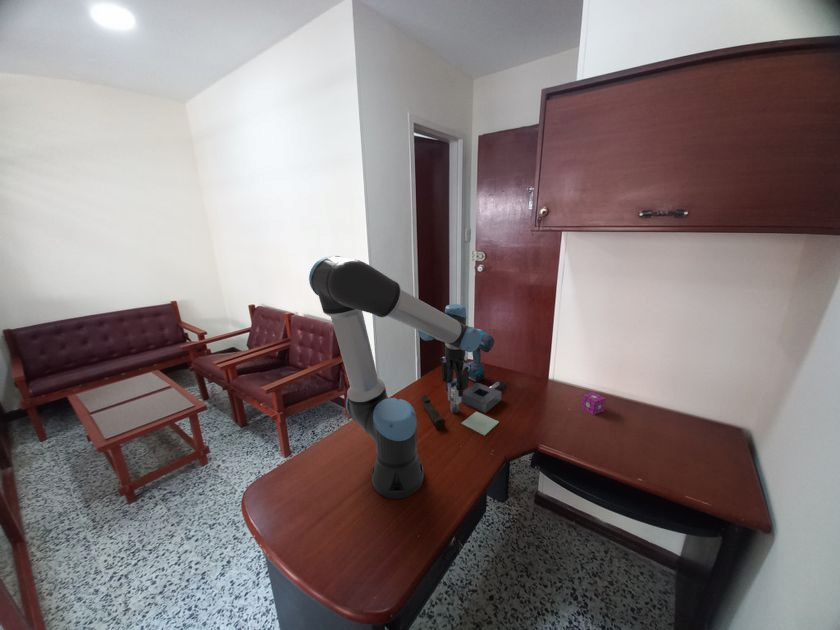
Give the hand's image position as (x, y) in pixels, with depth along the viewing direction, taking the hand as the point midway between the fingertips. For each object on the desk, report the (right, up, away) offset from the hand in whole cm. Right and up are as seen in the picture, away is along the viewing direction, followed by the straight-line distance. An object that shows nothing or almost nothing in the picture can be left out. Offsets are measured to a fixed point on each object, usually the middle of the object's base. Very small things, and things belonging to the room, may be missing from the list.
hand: (454, 400), depth 122 cm
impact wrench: (+11, +4, +28) cm, 30 cm away
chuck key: (0, -4, +1) cm, 5 cm away
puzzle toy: (+55, -4, +1) cm, 55 cm away
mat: (+9, -7, -7) cm, 13 cm away
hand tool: (-10, -6, 0) cm, 11 cm away
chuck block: (+15, -1, +10) cm, 18 cm away
